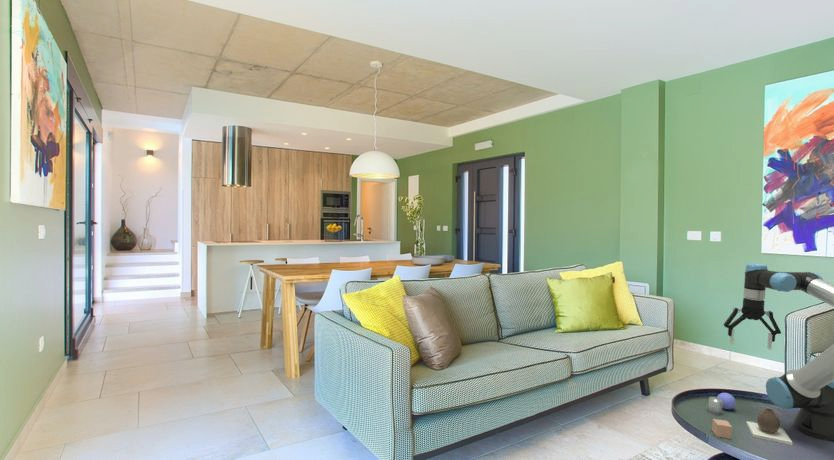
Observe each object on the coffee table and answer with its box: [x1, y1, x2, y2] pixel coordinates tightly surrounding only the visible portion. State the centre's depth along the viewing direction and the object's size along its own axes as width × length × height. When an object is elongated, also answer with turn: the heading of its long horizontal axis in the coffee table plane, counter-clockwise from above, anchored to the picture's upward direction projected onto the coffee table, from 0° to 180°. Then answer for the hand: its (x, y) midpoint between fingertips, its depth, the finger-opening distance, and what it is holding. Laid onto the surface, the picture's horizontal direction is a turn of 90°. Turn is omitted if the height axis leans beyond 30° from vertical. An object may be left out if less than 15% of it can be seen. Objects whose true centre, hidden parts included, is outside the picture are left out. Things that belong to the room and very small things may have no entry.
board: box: [745, 420, 793, 446], centre depth 175 cm, size 12×12×1 cm
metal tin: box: [707, 396, 723, 416], centre depth 193 cm, size 5×5×6 cm
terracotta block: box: [711, 418, 733, 440], centre depth 174 cm, size 5×5×5 cm
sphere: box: [716, 392, 737, 410], centre depth 197 cm, size 7×7×7 cm
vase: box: [756, 408, 780, 434], centre depth 175 cm, size 7×7×9 cm
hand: (750, 346), depth 196 cm, fingers open, 13 cm apart
